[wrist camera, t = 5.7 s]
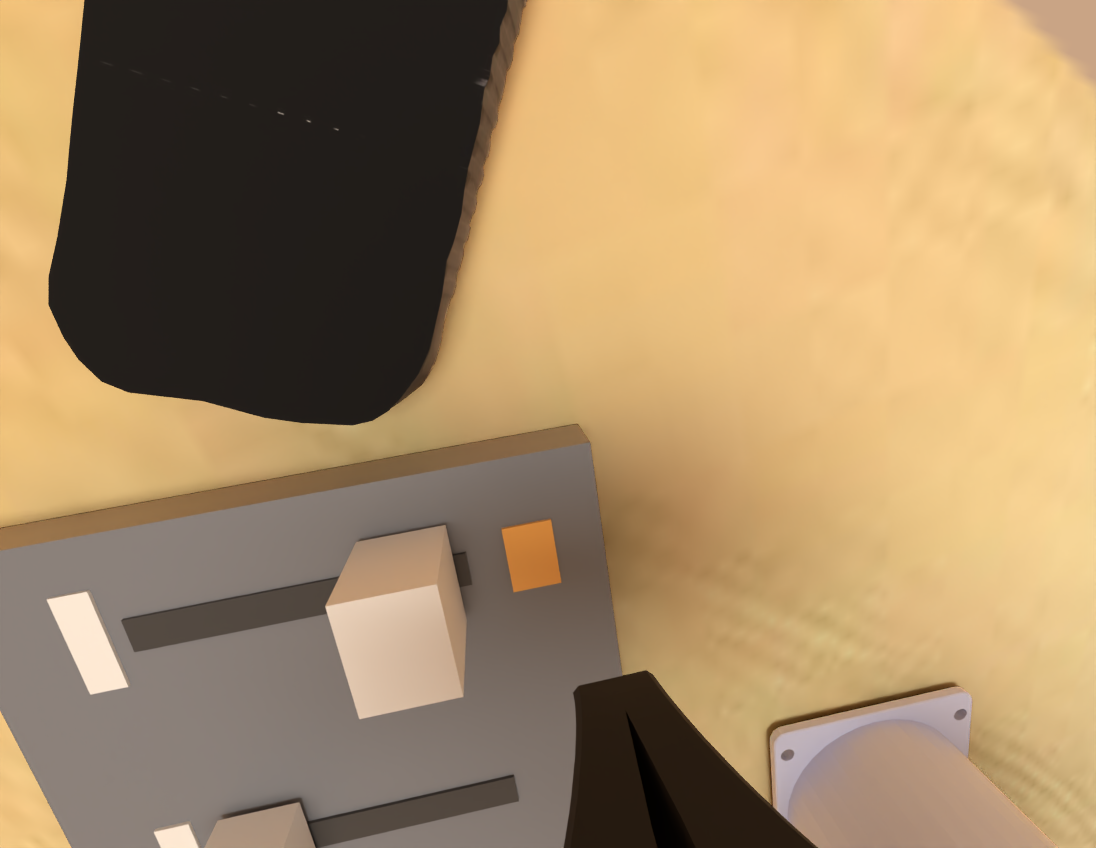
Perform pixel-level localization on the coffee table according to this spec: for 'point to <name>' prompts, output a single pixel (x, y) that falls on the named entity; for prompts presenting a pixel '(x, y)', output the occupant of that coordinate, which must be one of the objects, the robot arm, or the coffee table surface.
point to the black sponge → (274, 195)
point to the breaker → (263, 830)
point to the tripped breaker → (400, 622)
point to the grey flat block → (308, 654)
